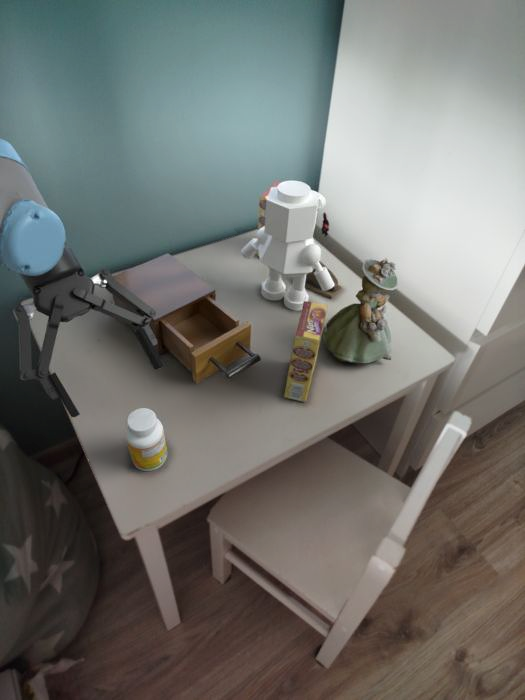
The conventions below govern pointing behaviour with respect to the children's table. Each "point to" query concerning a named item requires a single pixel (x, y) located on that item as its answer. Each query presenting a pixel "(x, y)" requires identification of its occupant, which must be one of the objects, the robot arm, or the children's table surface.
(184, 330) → the drawer
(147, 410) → the supplement bottle
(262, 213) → the candy box
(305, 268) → the robot toy
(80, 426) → the children's table surface
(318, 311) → the candy box
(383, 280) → the figurine
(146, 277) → the cabinet
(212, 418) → the children's table surface
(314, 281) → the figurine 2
